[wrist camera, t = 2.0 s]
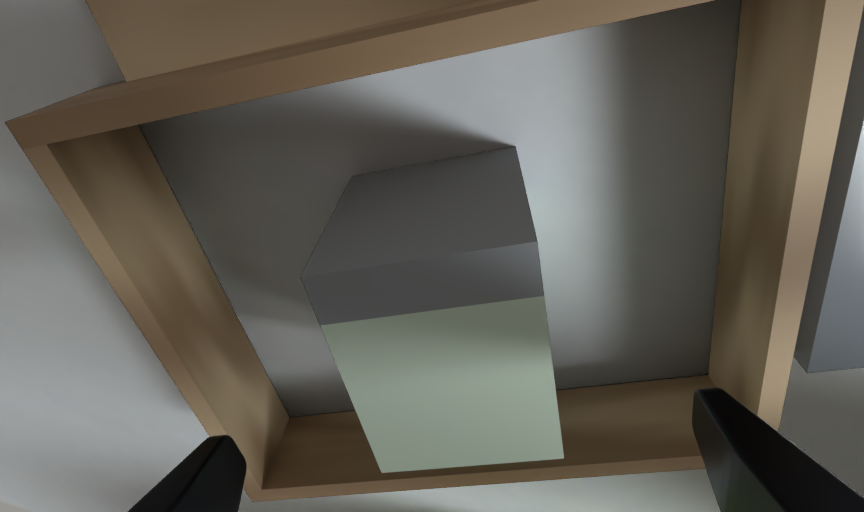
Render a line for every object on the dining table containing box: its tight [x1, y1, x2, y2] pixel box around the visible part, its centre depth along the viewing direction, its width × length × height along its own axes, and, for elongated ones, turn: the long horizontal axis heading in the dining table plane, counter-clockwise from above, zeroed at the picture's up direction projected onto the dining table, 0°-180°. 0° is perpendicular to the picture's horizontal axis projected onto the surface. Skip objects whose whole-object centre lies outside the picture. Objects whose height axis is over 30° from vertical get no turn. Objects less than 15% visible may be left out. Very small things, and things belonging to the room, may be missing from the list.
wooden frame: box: [5, 0, 864, 502], centre depth 14 cm, size 19×16×3 cm
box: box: [300, 146, 564, 473], centre depth 13 cm, size 6×4×5 cm
